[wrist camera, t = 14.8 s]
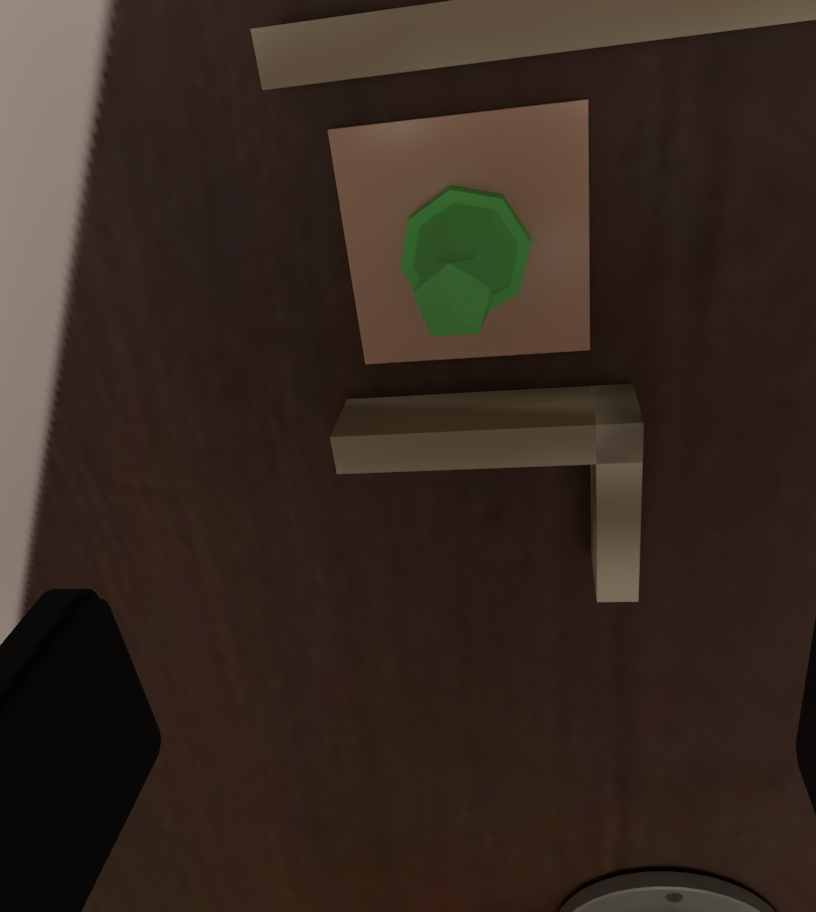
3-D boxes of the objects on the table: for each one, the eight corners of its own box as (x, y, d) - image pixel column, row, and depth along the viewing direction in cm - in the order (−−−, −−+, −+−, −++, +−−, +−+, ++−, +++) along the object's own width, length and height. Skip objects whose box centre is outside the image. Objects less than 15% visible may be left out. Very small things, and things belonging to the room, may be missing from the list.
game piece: (418, 322, 27) (394, 397, 22) (387, 199, 25) (352, 250, 20) (541, 299, 26) (545, 371, 21) (519, 168, 24) (517, 214, 19)
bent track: (972, 545, 29) (1015, 598, 27) (374, 557, 33) (362, 604, 31) (1159, -100, 19) (1255, -114, 17) (280, 25, 23) (250, 28, 21)
